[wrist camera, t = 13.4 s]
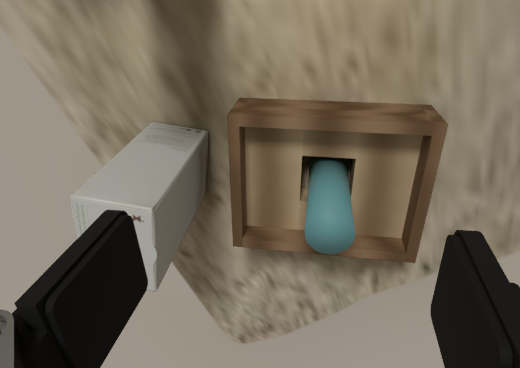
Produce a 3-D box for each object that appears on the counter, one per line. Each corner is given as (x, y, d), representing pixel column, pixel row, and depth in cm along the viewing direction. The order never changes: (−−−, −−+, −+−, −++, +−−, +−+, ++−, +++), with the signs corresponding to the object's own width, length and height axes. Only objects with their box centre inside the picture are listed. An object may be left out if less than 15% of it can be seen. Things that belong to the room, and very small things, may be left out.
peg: (348, 151, 38) (357, 215, 28) (344, 185, 40) (352, 256, 30) (310, 149, 39) (306, 211, 28) (308, 182, 41) (303, 251, 30)
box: (431, 105, 35) (448, 124, 30) (404, 230, 42) (414, 262, 37) (239, 97, 37) (227, 114, 33) (243, 217, 44) (233, 246, 39)
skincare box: (152, 119, 40) (63, 189, 26) (213, 130, 39) (155, 207, 26) (153, 187, 44) (76, 279, 30) (208, 198, 43) (156, 296, 30)
